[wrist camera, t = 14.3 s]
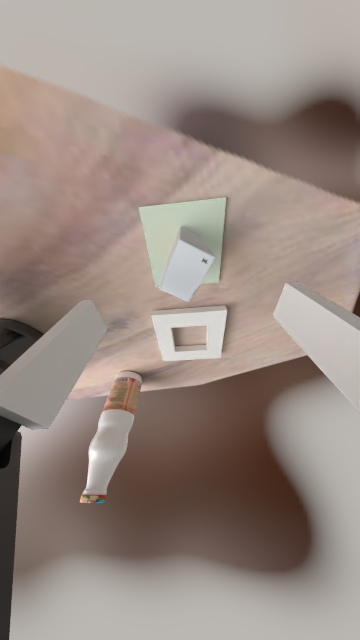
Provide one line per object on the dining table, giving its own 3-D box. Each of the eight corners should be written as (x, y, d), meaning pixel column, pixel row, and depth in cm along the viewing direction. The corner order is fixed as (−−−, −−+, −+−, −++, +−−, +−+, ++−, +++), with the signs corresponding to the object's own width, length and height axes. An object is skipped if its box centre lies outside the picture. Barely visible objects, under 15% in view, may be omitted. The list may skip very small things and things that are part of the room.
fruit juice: (147, 377, 51) (123, 502, 29) (134, 386, 56) (103, 502, 33) (124, 367, 47) (76, 503, 25) (111, 377, 52) (61, 502, 30)
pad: (155, 286, 29) (155, 287, 29) (139, 207, 21) (138, 207, 21) (218, 281, 29) (218, 282, 28) (225, 197, 21) (226, 197, 20)
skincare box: (180, 225, 22) (179, 235, 13) (203, 238, 23) (218, 256, 14) (166, 261, 26) (157, 290, 16) (186, 271, 27) (190, 303, 17)
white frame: (163, 355, 44) (163, 361, 42) (152, 310, 33) (151, 315, 32) (218, 352, 43) (220, 358, 41) (225, 305, 32) (227, 310, 31)
